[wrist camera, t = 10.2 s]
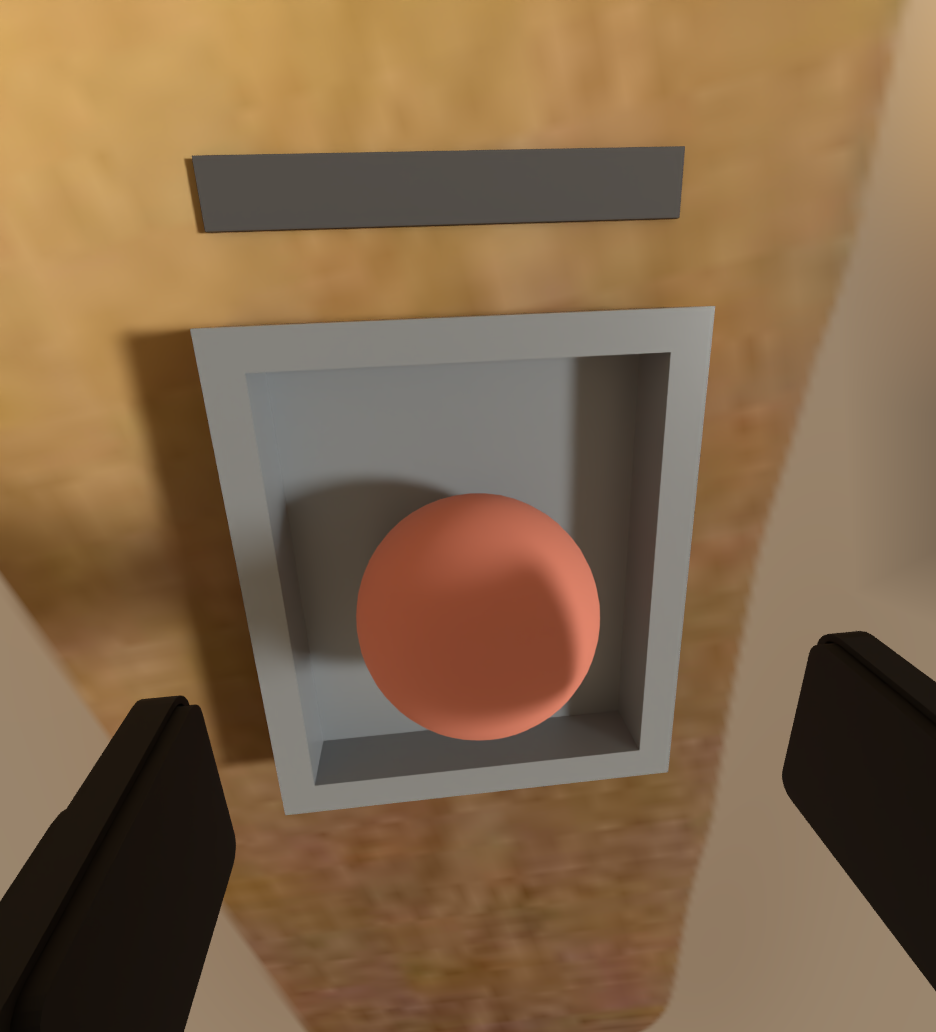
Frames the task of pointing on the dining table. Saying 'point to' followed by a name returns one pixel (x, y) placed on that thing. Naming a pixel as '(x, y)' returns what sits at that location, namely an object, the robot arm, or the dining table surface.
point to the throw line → (437, 188)
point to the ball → (478, 616)
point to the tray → (444, 473)
